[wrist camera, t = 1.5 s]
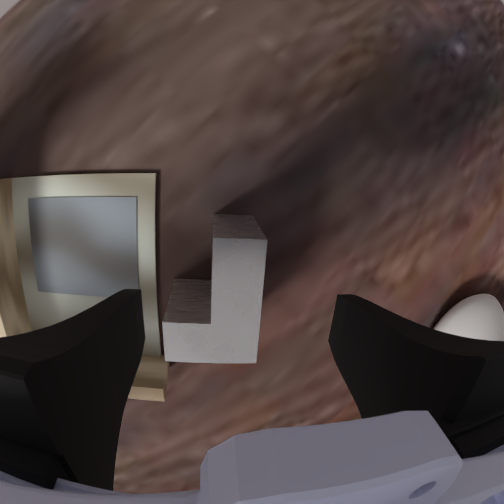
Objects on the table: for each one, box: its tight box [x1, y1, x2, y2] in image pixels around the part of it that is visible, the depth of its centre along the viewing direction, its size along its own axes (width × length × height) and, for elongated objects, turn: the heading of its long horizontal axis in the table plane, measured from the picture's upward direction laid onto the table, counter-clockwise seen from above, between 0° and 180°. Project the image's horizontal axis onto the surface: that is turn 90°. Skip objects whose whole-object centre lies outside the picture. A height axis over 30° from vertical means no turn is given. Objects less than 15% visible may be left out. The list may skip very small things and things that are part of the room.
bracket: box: [162, 214, 267, 363], centre depth 19 cm, size 7×5×6 cm
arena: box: [0, 173, 170, 401], centre depth 19 cm, size 15×13×4 cm
